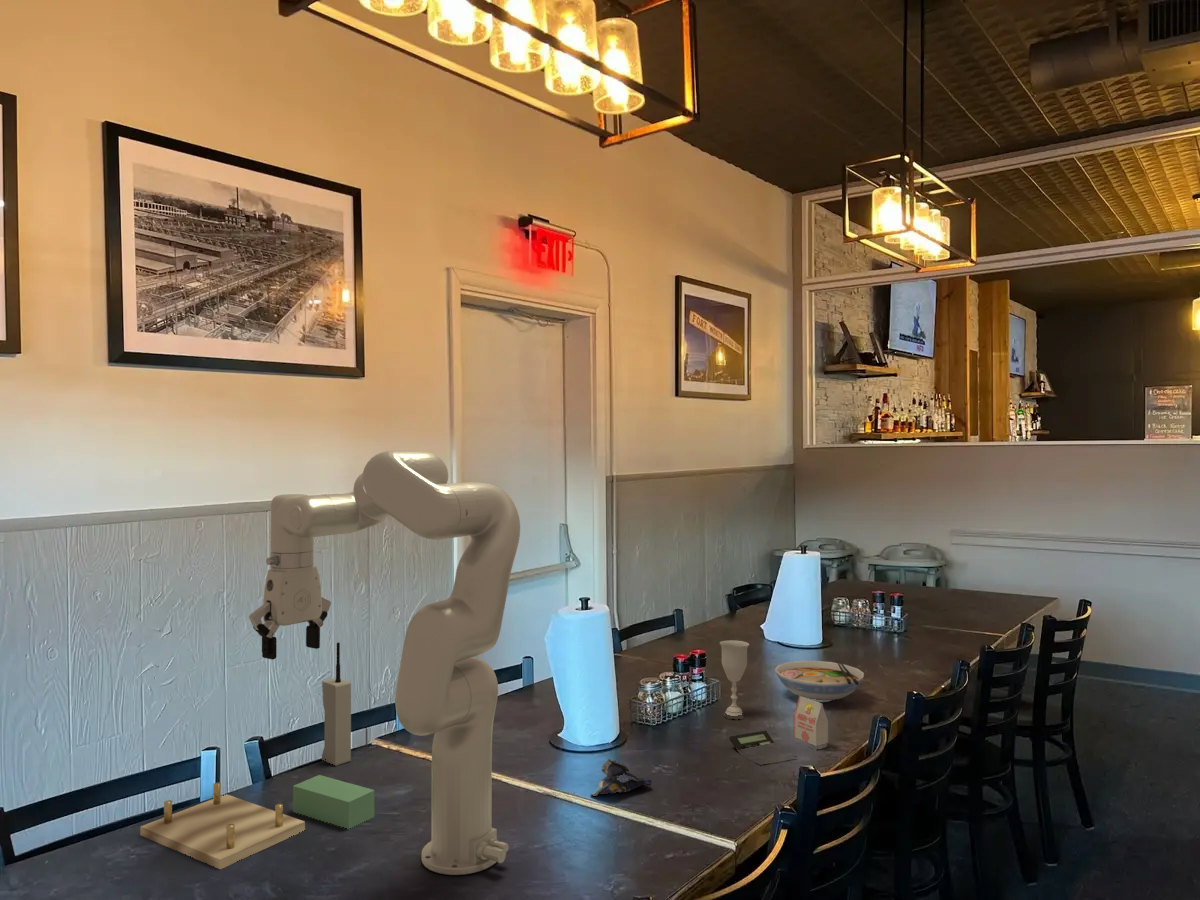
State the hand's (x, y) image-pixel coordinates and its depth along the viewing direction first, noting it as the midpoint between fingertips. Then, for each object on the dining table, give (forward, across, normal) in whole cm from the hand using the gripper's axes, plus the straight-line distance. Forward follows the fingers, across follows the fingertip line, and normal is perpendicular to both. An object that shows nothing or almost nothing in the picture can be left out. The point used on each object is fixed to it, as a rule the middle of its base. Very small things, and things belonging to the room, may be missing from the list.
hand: (291, 652), depth 158 cm
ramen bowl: (+27, +116, -64) cm, 135 cm away
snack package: (+28, +37, -49) cm, 68 cm away
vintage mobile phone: (+28, +18, +8) cm, 34 cm away
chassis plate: (+27, -15, -2) cm, 31 cm away
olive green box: (+28, 0, -12) cm, 30 cm away
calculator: (+28, +70, -66) cm, 100 cm away
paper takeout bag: (+27, +81, -73) cm, 112 cm away
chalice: (+27, +90, -51) cm, 107 cm away
